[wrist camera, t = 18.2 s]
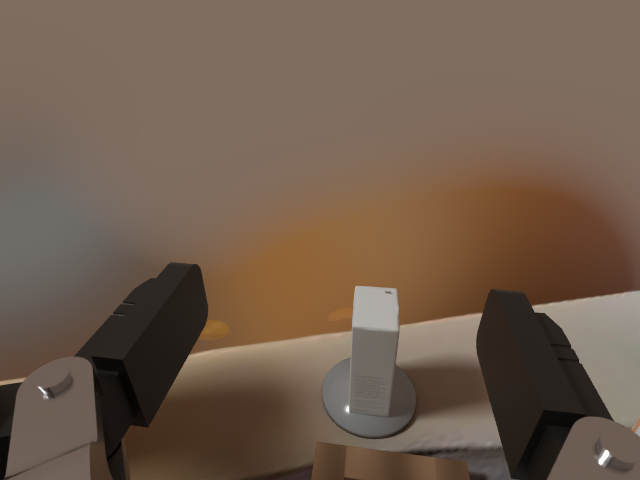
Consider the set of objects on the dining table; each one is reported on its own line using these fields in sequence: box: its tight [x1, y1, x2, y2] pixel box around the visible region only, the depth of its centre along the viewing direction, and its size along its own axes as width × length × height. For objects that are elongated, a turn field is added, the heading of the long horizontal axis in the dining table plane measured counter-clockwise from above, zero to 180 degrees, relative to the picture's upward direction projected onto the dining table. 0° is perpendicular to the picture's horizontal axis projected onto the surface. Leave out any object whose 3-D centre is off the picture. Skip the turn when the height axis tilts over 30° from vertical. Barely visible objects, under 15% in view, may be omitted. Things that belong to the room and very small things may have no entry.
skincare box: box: [349, 286, 399, 417], centre depth 38 cm, size 6×4×12 cm
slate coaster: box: [322, 358, 416, 439], centre depth 42 cm, size 10×10×1 cm
